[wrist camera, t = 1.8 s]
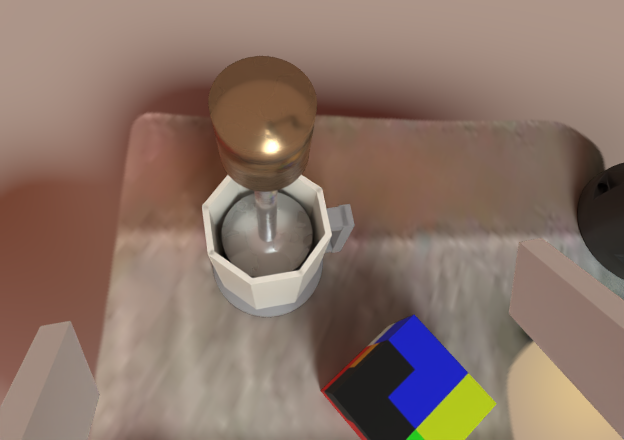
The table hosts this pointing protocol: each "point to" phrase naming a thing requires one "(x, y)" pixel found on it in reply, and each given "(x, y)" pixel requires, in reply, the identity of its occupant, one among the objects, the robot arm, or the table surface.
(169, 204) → the table surface
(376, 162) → the table surface
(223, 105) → the plunger
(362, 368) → the puzzle toy
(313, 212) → the jug
